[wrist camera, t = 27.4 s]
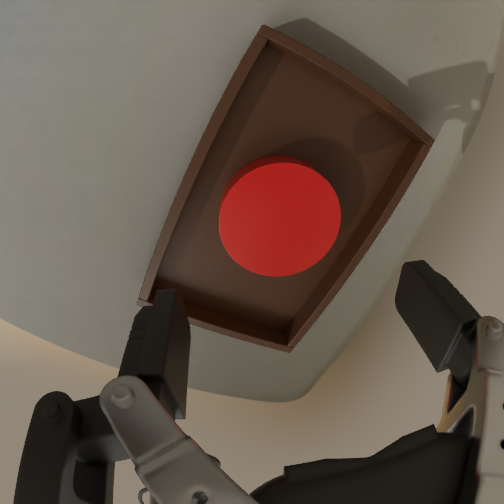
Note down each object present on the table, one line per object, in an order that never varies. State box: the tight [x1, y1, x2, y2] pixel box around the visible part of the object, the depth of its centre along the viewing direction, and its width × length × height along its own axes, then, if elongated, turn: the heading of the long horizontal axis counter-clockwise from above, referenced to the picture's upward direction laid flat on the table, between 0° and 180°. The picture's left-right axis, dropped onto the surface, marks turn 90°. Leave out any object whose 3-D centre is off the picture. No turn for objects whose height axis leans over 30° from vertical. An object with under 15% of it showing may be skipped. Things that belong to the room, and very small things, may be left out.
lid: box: [219, 156, 341, 276], centre depth 16 cm, size 6×6×2 cm
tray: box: [137, 25, 434, 353], centre depth 17 cm, size 17×11×2 cm, turn 153°
